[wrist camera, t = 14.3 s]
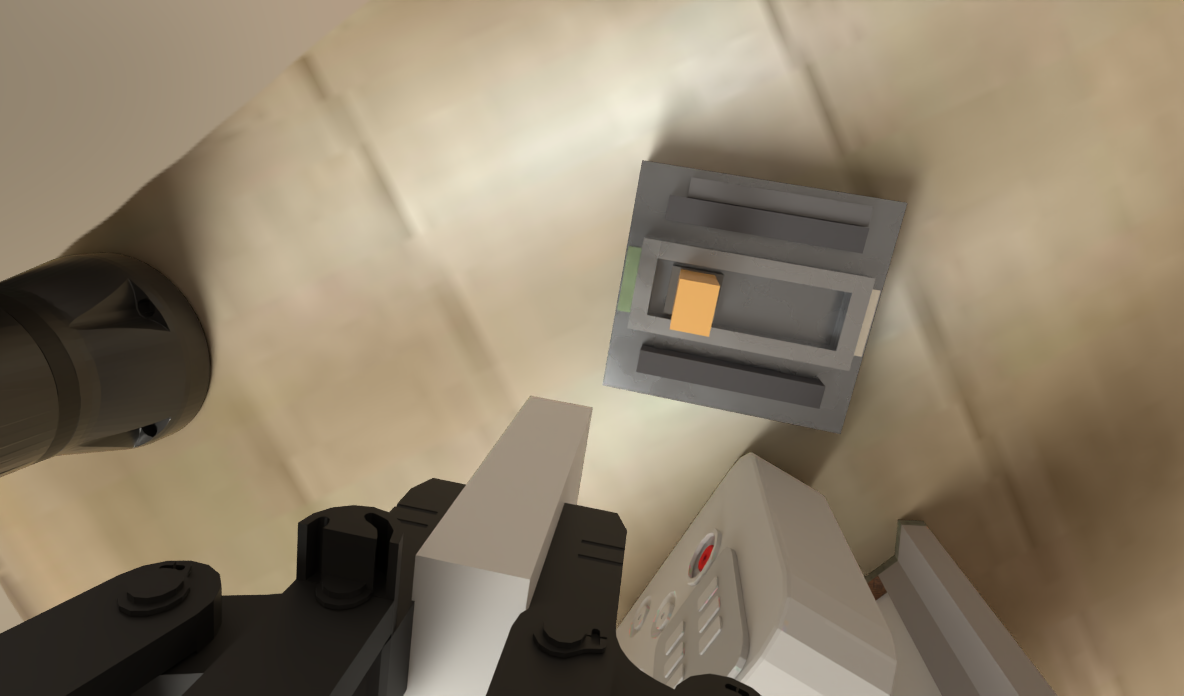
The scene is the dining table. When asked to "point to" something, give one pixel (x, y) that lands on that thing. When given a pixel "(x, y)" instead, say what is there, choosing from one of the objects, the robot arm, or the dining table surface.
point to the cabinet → (945, 626)
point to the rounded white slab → (763, 597)
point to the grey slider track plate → (765, 226)
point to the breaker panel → (751, 300)
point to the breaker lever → (693, 299)
